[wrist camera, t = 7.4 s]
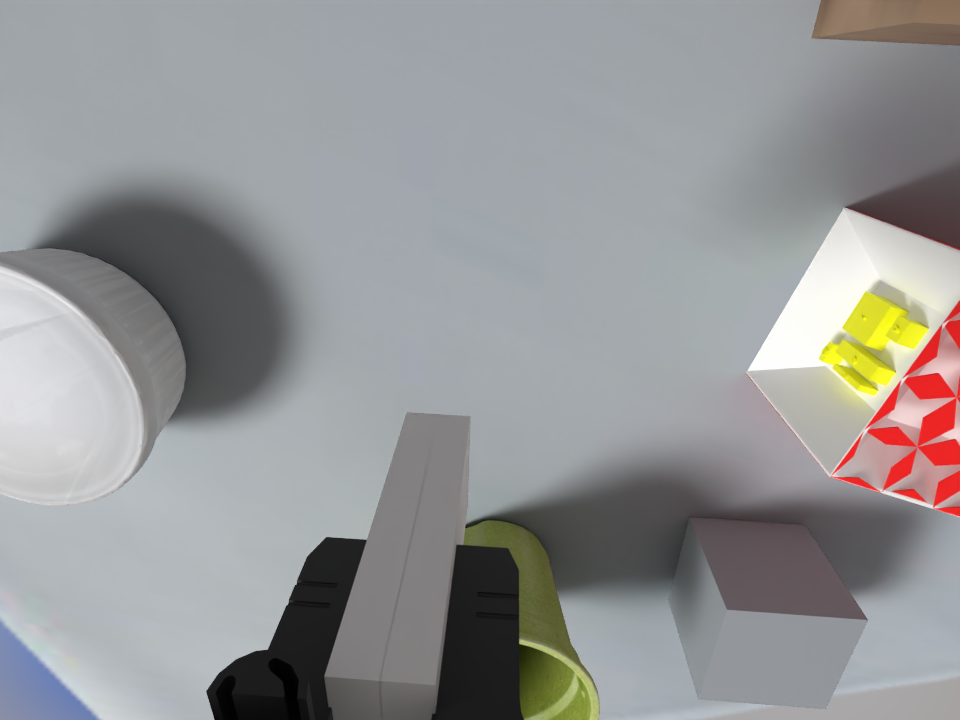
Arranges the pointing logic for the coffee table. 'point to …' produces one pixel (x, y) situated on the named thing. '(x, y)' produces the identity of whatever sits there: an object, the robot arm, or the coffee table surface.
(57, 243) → the coffee table surface
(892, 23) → the walnut block
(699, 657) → the slate grey block
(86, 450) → the ramekin
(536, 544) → the plant pot
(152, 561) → the coffee table surface
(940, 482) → the puzzle cube
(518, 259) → the coffee table surface
